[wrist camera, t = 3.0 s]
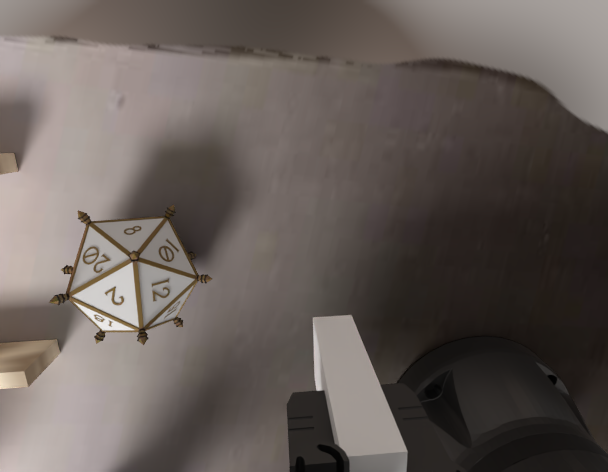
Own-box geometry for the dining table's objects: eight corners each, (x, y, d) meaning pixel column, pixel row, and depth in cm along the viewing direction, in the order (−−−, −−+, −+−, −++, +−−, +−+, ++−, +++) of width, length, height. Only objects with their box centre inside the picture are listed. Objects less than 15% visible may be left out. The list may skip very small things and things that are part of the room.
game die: (145, 249, 32) (1, 289, 24) (180, 169, 27) (18, 183, 19) (211, 333, 29) (76, 409, 21) (262, 259, 25) (116, 320, 17)
